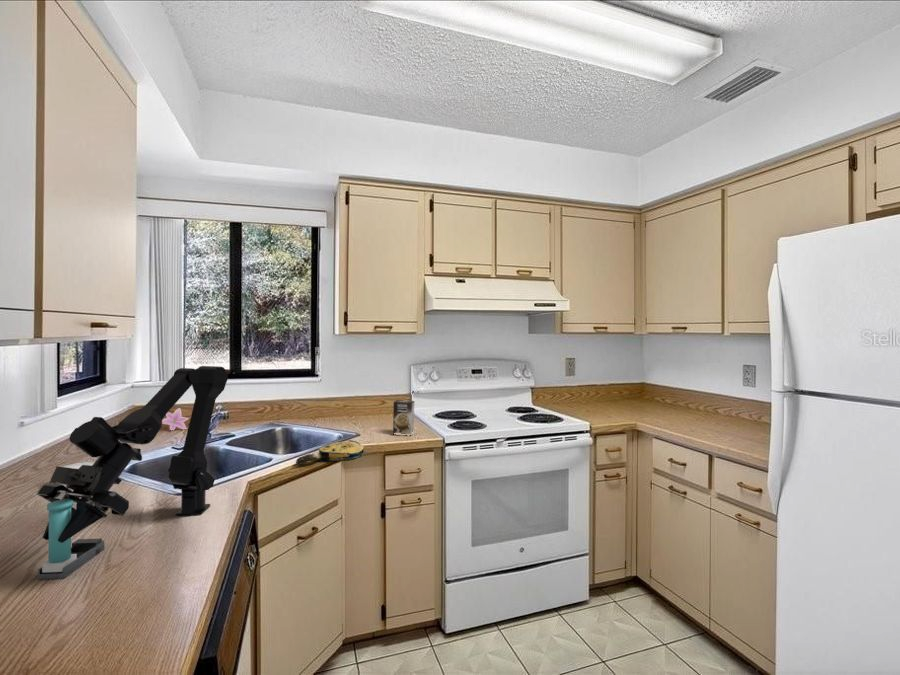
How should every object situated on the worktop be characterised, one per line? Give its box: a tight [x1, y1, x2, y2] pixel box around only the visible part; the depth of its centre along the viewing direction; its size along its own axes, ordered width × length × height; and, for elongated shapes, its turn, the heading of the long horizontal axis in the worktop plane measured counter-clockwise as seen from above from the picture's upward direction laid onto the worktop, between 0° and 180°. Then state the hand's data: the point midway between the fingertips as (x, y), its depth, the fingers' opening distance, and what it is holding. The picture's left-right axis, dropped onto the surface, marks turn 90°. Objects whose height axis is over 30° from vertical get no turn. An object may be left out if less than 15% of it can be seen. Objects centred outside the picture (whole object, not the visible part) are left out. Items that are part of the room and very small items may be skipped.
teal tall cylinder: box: [41, 499, 77, 573], centre depth 92 cm, size 4×4×13 cm
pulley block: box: [295, 439, 373, 465], centre depth 177 cm, size 14×6×30 cm
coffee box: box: [392, 399, 415, 434], centre depth 221 cm, size 9×6×16 cm
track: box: [37, 538, 105, 580], centre depth 95 cm, size 12×5×3 cm, turn 6°
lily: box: [162, 407, 190, 431], centre depth 224 cm, size 12×12×10 cm
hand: (52, 540), depth 90 cm, fingers open, 4 cm apart
